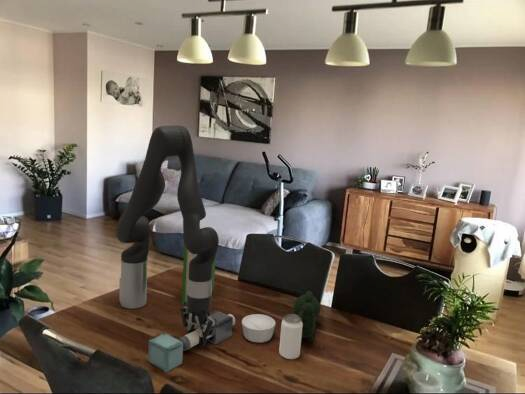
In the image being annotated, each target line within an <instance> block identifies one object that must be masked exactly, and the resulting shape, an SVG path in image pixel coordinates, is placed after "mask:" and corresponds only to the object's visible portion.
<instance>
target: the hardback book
mask: <svg viewBox="0 0 525 394" xmlns="http://www.w3.org/2000/svg"><path fill="white" fill-rule="evenodd" d="M183 245H184V246H183V262H182V263H183V264H182V290H181V292H182V293H181V305H186V301H187V283H188V275H189V263H190V261H191V260H192V259H193V258H195V257H196V256H197V254H192V253H190V252H189V251H188V250H187V248H186V246H185V244H184V243H183ZM216 258H217V257H216V256H215V259H214V262H213V265H212V292H213V291H214V289H215V288H214V287H215V275H216V274H215V273H216V271H215V270H216Z"/></svg>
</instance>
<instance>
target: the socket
mask: <svg viewBox="0 0 525 394" xmlns="http://www.w3.org/2000/svg"><path fill="white" fill-rule="evenodd" d="M147 351H148V353H147V355H148V356H147V361H148V363H150V364H152V365H154V366H156V367H157V368H158V369H160V370H162V371H163V372H165V373H168V372H169V371H171V370H173V369H174V368H176V367H178V366H180V365H181V364H183V355H184V353H183V352H184V351H183V342H181V341H179V340H178V339H177V338H175V337H173V336H172V335H170V334H167V333H166V332H165V333H161V334H160V335H158V336H156V337H153V338H151V339H149V340H148V350H147Z"/></svg>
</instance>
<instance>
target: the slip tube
mask: <svg viewBox="0 0 525 394" xmlns="http://www.w3.org/2000/svg"><path fill="white" fill-rule="evenodd" d="M227 315H229V316H231V317H233V326H234V325H236V318H235V317H234V315H233V313H228V314H227ZM203 332H204V329H203ZM199 336H200V334H199V330H198V329H195V331H193V332H191V333H189V334H188V333H187V334H185V335H182V336H181V337H179V338H178V339H177V340H179V341H181V342H183V352H185V351H187V350H189V349H191V348H192V347H195V346H197V345H199ZM212 336H213V333H212V335H209V336H208V337H207V338H206V339H208V338H210V337H212Z"/></svg>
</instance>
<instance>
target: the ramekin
mask: <svg viewBox="0 0 525 394" xmlns="http://www.w3.org/2000/svg"><path fill="white" fill-rule="evenodd" d="M241 326H242V334H243V336H244V338H245V339H246V340H247V341H249V342H252V343H255V344H257V343H259V344H261V343H265V342H269V341H270V340H271V338H273V335H274V331H275V328H276V321H275V319H274V318H272V317H271V316H270V315H266V314H260V313H256V314H254V313H253V314H249V315H246V316H244V317H243V318H242V320H241Z"/></svg>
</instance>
